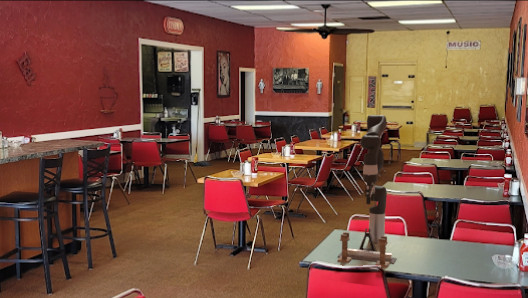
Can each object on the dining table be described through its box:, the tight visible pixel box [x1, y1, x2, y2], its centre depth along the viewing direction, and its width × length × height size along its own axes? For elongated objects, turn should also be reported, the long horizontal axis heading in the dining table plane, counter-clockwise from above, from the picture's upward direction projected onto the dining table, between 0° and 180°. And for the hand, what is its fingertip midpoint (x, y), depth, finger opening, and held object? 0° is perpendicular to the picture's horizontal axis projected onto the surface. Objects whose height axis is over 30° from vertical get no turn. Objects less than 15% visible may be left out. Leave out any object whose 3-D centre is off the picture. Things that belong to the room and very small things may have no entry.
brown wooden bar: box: [347, 248, 393, 260], centre depth 306 cm, size 3×26×3 cm, turn 68°
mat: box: [337, 251, 397, 265], centre depth 306 cm, size 9×30×1 cm, turn 68°
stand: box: [337, 231, 390, 269], centre depth 297 cm, size 6×26×15 cm, turn 68°
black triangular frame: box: [358, 228, 376, 252], centre depth 320 cm, size 9×6×12 cm, turn 77°
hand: (370, 202), depth 307 cm, fingers open, 8 cm apart
